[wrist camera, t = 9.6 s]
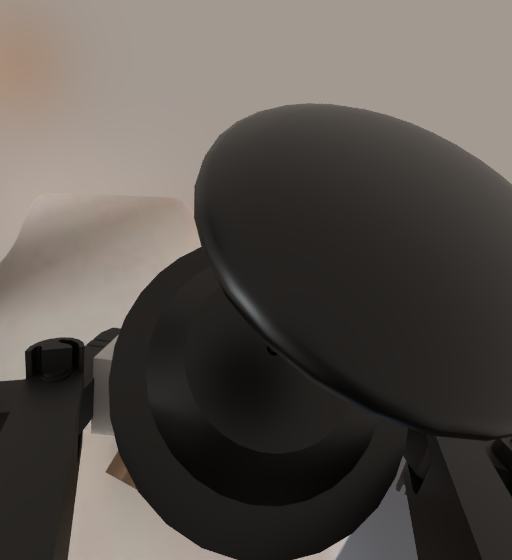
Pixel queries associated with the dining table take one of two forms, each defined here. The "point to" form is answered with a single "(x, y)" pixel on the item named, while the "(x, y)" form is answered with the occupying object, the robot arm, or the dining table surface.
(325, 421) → the french press
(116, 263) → the dining table surface
